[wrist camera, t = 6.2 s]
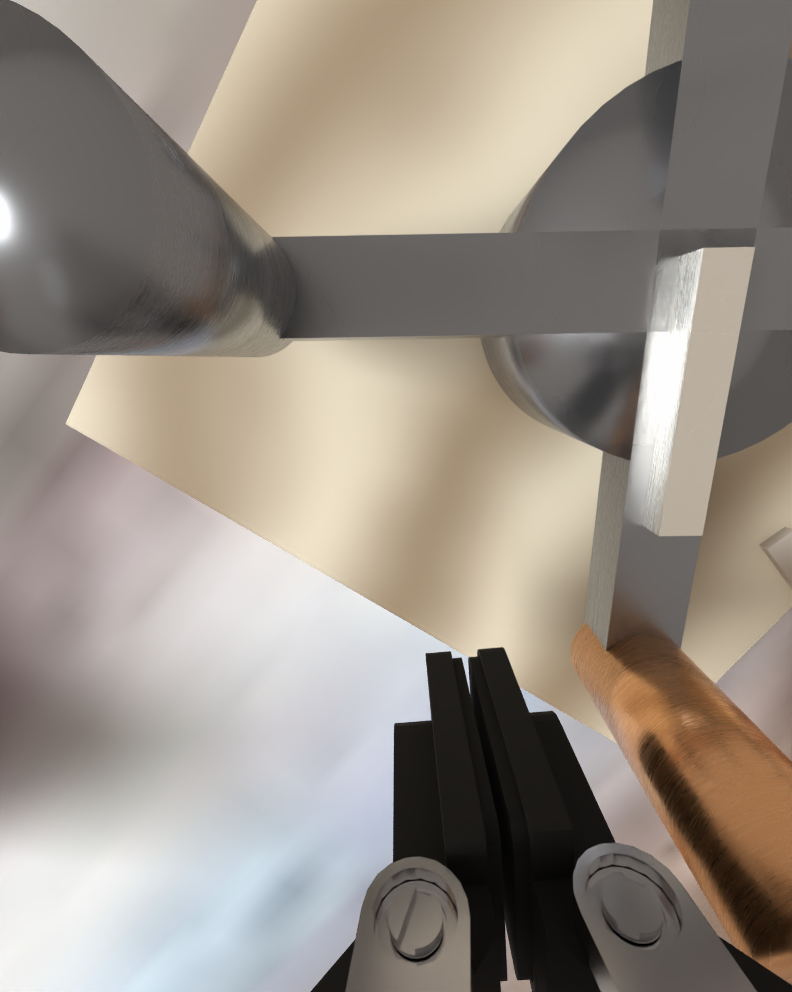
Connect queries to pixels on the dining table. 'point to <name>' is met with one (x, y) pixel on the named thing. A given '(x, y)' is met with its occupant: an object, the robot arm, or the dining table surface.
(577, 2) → the stand
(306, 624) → the dining table surface
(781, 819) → the capstan
